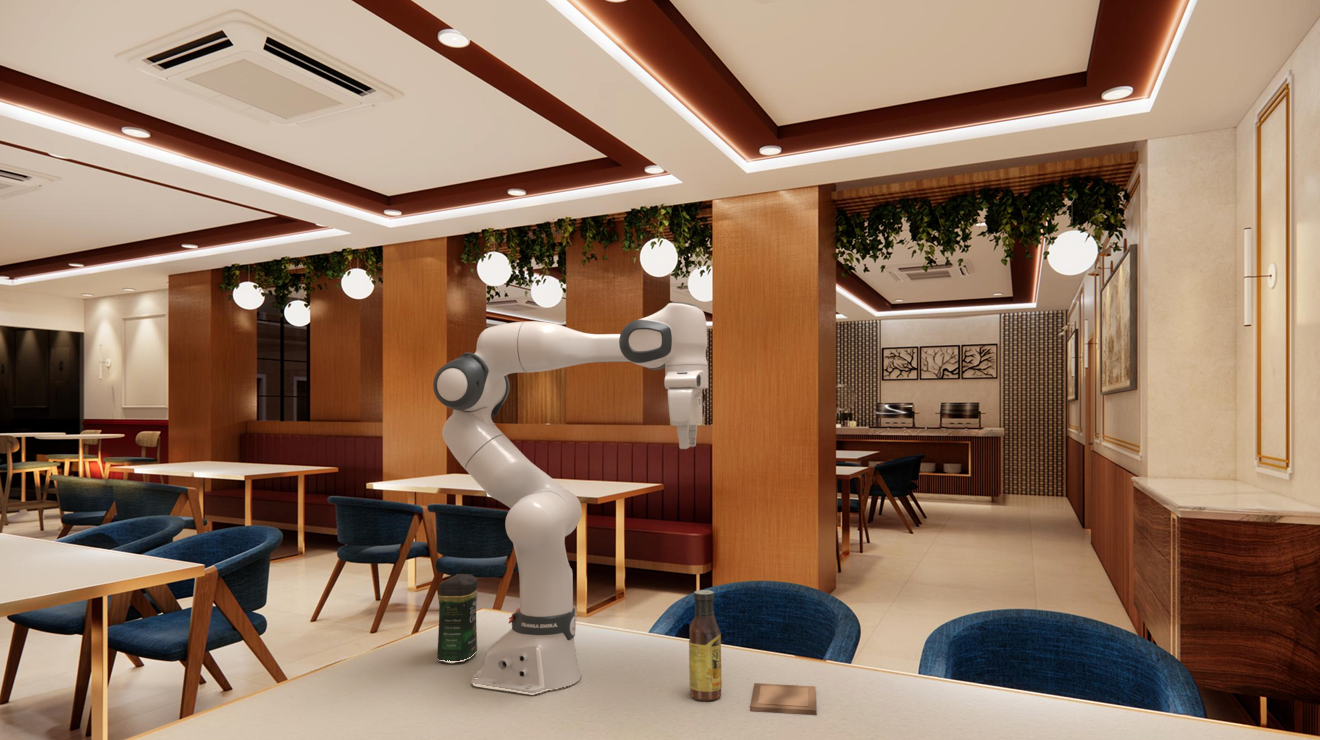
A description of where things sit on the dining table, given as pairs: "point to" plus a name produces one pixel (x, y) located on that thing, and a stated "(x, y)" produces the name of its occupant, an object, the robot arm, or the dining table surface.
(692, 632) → the sauce bottle
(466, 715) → the dining table surface
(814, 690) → the trivet
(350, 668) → the dining table surface
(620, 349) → the robot arm
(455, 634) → the coffee jar
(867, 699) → the dining table surface
